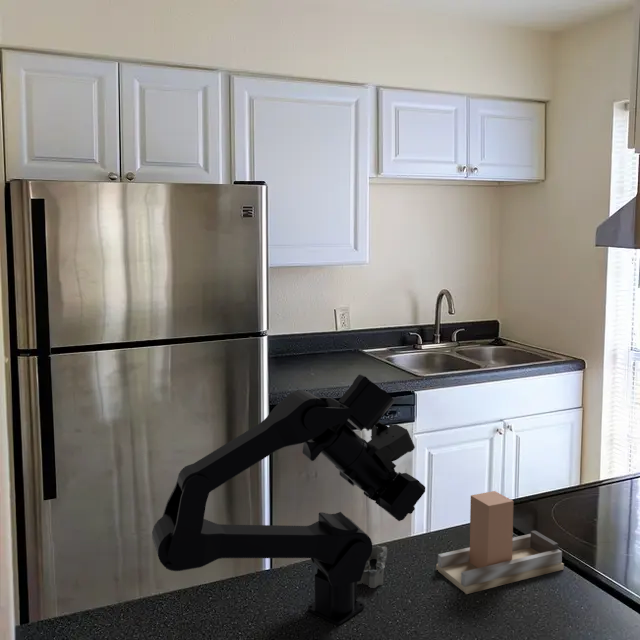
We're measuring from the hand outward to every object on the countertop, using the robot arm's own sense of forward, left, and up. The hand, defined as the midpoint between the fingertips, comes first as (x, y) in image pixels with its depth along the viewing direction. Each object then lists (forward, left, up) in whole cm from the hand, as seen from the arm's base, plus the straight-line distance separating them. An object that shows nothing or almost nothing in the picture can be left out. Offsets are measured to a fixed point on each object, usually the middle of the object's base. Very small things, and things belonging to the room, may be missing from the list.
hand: (412, 510), depth 106 cm
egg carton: (0, +10, -14) cm, 17 cm away
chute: (+16, -7, -14) cm, 22 cm away
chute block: (+14, -7, -12) cm, 20 cm away
